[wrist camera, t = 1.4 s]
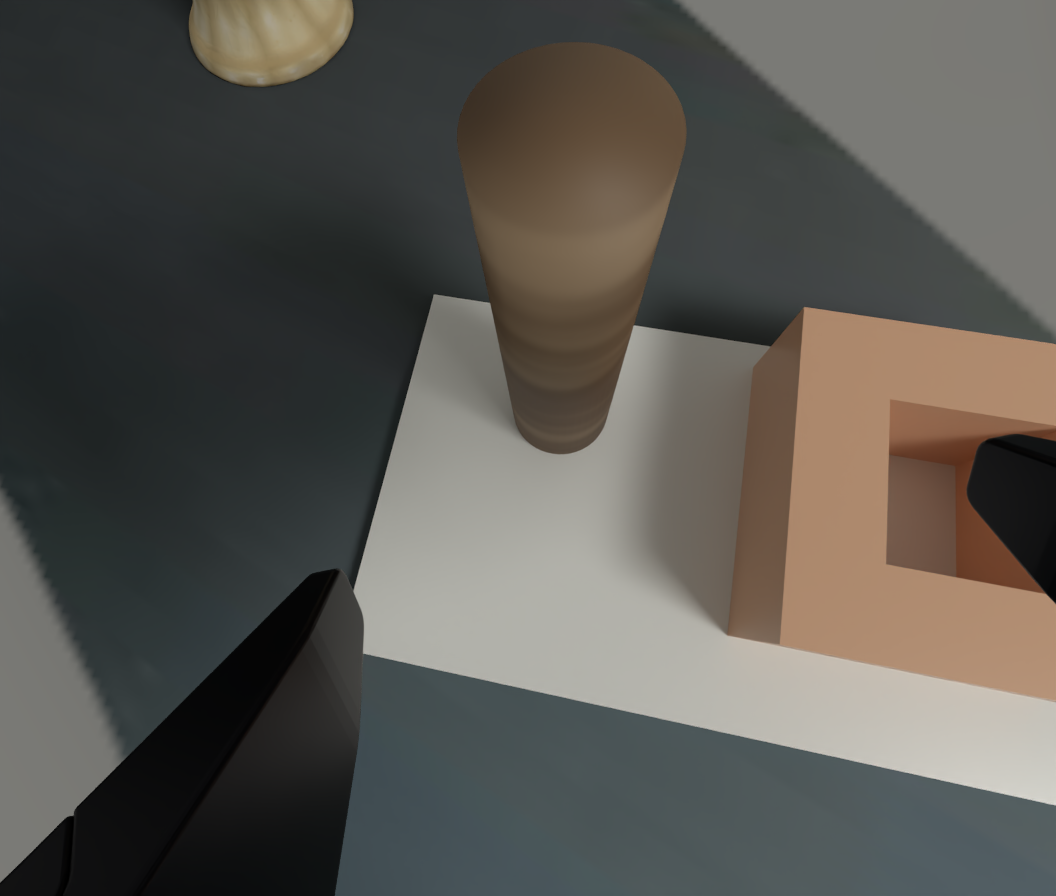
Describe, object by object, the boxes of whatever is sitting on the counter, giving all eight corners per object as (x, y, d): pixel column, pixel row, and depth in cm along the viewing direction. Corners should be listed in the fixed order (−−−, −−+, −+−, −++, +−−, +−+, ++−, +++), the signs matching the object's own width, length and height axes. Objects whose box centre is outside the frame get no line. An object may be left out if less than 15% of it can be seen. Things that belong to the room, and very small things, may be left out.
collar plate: (1066, 805, 17) (1262, 881, 13) (343, 646, 20) (275, 660, 15) (1045, 395, 21) (1190, 334, 16) (436, 300, 23) (406, 221, 18)
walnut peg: (599, 461, 21) (671, 242, 8) (504, 445, 21) (433, 209, 8) (614, 373, 22) (698, 54, 9) (523, 358, 22) (484, 31, 9)
